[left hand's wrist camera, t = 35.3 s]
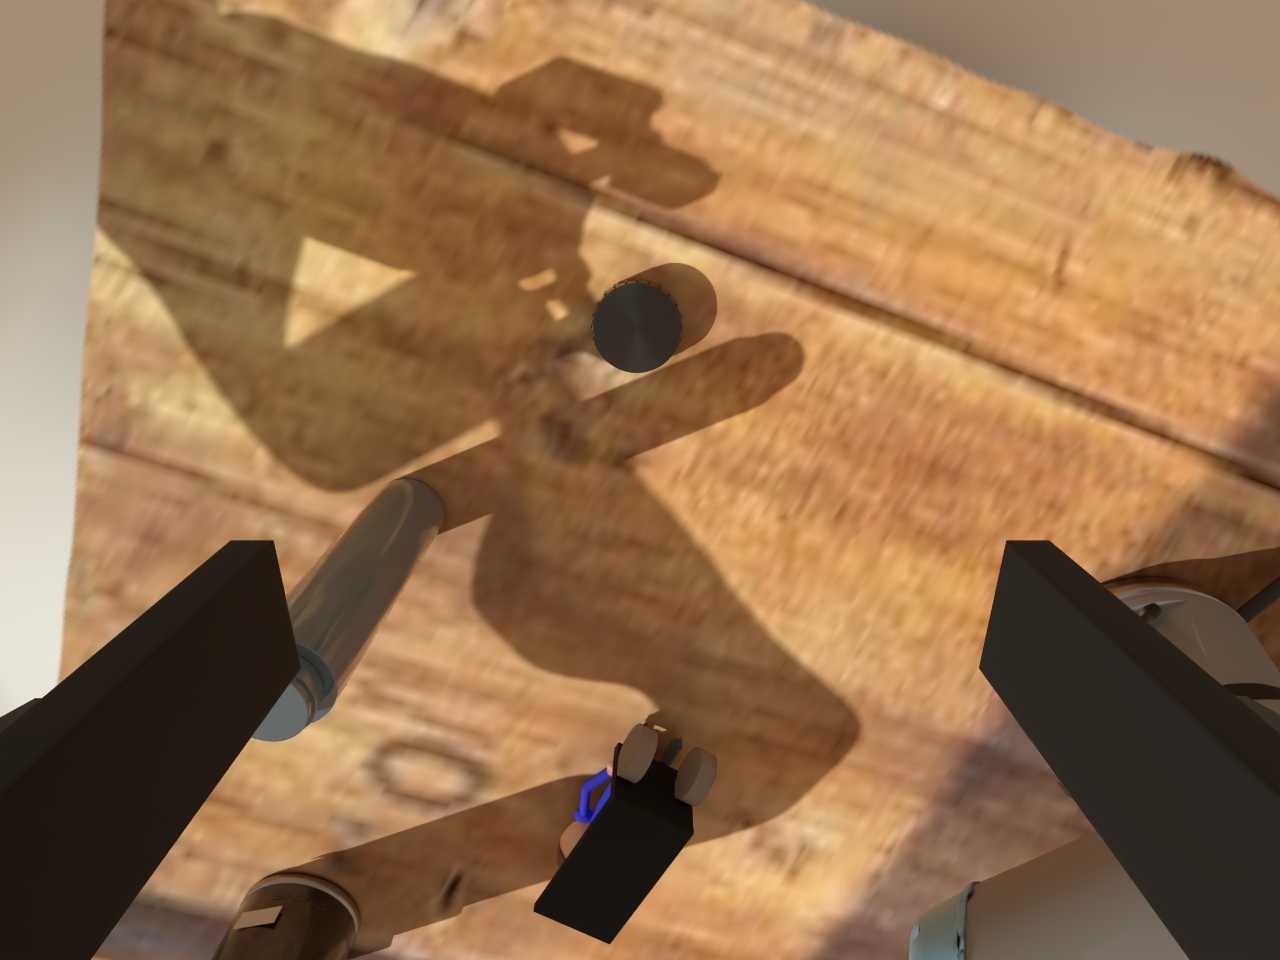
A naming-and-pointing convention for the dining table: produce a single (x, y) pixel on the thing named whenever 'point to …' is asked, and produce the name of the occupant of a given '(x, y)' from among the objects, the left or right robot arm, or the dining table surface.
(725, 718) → the dining table surface
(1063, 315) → the dining table surface
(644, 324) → the lid
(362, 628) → the grey cylinder
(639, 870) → the figurine character
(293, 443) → the dining table surface
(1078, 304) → the dining table surface
